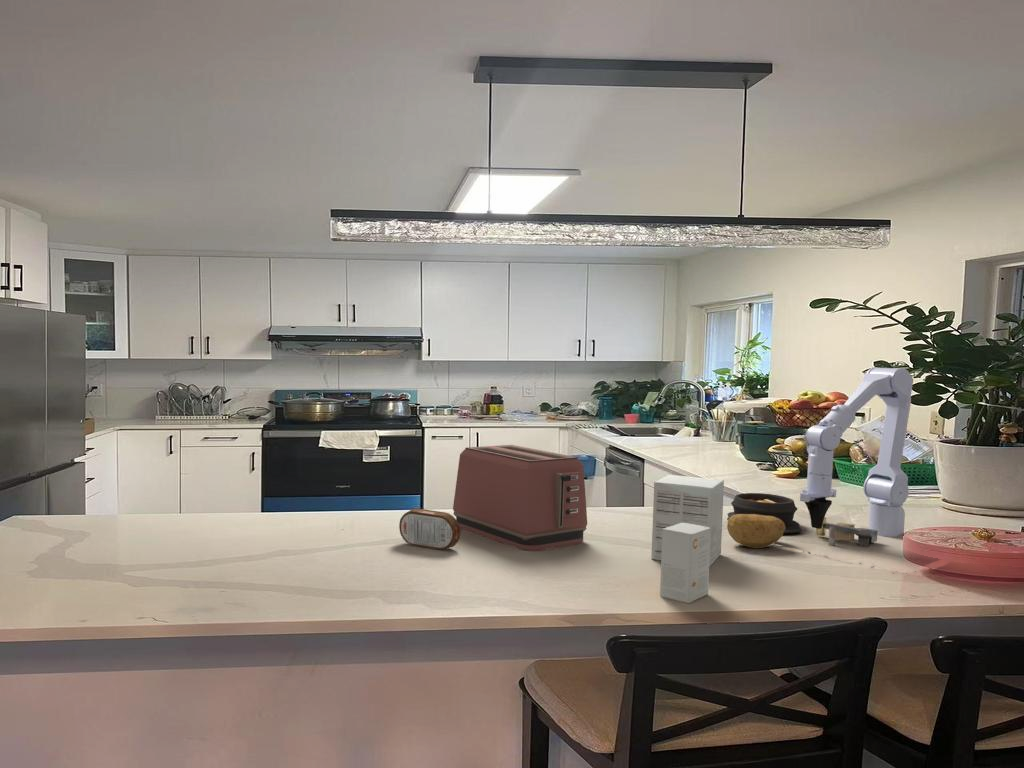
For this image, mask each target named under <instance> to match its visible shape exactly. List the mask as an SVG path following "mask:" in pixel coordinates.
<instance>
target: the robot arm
mask: <svg viewBox="0 0 1024 768" xmlns="http://www.w3.org/2000/svg"><path fill="white" fill-rule="evenodd" d="M913 385H914V377H913V376H912V374H911V373H910V372H909V371H908V369H906V368H904V367H903V368H902V367H899V368H894V367H893V368H892V367H877V366H874V367H871V368H869V369H868V370H867V371H866V373H865V374H863V375H862V381H861V383H860V384H859V385H858V386H857V388H856V389H855V390H854V391H853V393H852V394H851V395H850V396H849V398H848V399H847V400H845V402H844V404H836V405H833V406H832V407H831V408H830V411H829V412H828V414H827V415H826V416H824V417H823V419H821V420H820V421H819V423H818V424H817V425H816V424H814V425H812V426H810V427H809V428H808V429H807V431H806V432H805V435H804V436H803V440H804V442H805V445H806V452H807V453H808V458H807V460H808V462H807V478H806V479H807V480H806V488H802V489H801V491H802V492H801V493H799V495H800V496H799V502H804V504H805V506H806V507H807V510H808V513H809V518H810V525H811V528H813V529H816V528H817V529H821V528H822V524H823V520H824V517H826V514H827V512H828V510H829V509H830V507H831V505H832V503H833V502H832V500H830V499H828V498H836V497H837V489H835V488H832V486H833V485H832V483H833V482H832V481H833V469H834V468H833V467H834V465H833V464H834V450H835V449H836V448H838V447H839V445H840V443H841V438H842V436H843V434H844V433H845V432H846V431H847V429H848V428H850V426H852V424H853V423H854V422H855V421H856V413H858V412H859V411H860V410H861V409H862V408H863V407H864V406H865V405H867V404H868V402H870V401H871V400H872V399H873V398H874V397H875V396H877V397H878V398H879V399H881V400H882V401H883V402H884V404H885V405H886V409H885V414H884V422H883V427H882V432H881V439H880V444H879V445H880V446H879V451H878V459H877V464H876V465H874V466H873V467H871V468H870V469H869V470H868V474H867V477H866V479H865V480H864V483H863V487H862V488H863V489H862V490H863V493H864V495H865V497H867V501H868V502H869V511H868V528H867V529H872V530H878V532H877V536H880V537H887V538H888V537H889V538H891V537H892V538H893V537H894V538H895V537H899V536H900V535H902V534H905V533H904V532H905V521H906V520H905V519H906V518H905V517H906V513H905V509H904V507H903V506H904V503H905V502H906V501H907V500H908V497H909V494H910V493H909V491H910V490H909V484H908V483H909V476H908V475H907V474H906V473H905V472H904V470H902V468H901V467H902V466H901V465H902V459H903V455H904V454H903V453H904V447H905V441H906V434H907V428H908V423H909V417H910V416H909V415H910V410H911V404H912V391H913ZM887 477H888V478H887Z"/></svg>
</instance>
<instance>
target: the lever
mask: <svg viewBox="0 0 1024 768" xmlns="http://www.w3.org/2000/svg"><path fill="white" fill-rule="evenodd" d="M830 526H834V527H836V531H840V532H846V533H851V534H854V535H855V536H857V537H858V536H861V537H869V544H872V543H875V542H878V535H877V532H878V530H872V529H868V528H864V527H855V528H854V527H848V526H842V525H837V523H830V522H827V517H826V516H825V517H824V520H823V524H822V528H821V529H817V528H815V531H816V532H815V535H817V536H823V537H824V536H827V535H826V531H827V530H829V527H830Z"/></svg>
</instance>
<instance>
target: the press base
mask: <svg viewBox="0 0 1024 768" xmlns="http://www.w3.org/2000/svg"><path fill="white" fill-rule="evenodd" d="M828 530H829V531H828V546H830V547H831V546H832V547H835V546H836V539H835V532H836V527H834V526H830V527H829V529H828ZM849 542H851V543H855V544H856V543H857V546H859V547H866V548H868V547H869V545H870V543H869V537H861V536H857V538H856V537H854V539H853V540H850V541H849Z"/></svg>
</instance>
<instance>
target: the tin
mask: <svg viewBox="0 0 1024 768" xmlns="http://www.w3.org/2000/svg"><path fill="white" fill-rule="evenodd" d="M398 526H399V533H400V536H401V538H402V539H403V540H404V542H405V543H407V544H408V545H410V546H415V547H419V548H427V549H433V550H437V551H446V550H448V549H450V548H452V547H454V546H456V545H457V544H458V543H459V541H460V537H461V528H460V527H459V524H458V522H457V520H456V517H454V516H453V515H452V514H450V513H449V512H444V511H439V510H438V511H437V510H432V509H431V510H430V509H425V508H416V507H415V508H412V509H410V510H408V511H407V512H405V513H404V514H402V516H401V518H400V519H399V524H398Z"/></svg>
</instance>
